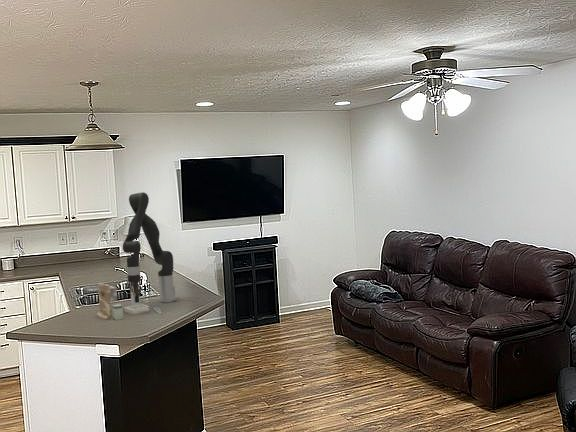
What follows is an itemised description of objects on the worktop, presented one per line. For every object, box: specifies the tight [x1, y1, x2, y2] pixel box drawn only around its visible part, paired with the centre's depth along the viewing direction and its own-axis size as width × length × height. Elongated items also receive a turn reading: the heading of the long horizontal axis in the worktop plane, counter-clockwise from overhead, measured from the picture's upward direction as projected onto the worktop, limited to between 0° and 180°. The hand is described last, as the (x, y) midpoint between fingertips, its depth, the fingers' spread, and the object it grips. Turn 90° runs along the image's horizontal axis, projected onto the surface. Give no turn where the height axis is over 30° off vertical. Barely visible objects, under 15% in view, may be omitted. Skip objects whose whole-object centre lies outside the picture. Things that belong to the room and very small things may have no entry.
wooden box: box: [96, 282, 118, 320], centre depth 363 cm, size 9×16×20 cm, turn 36°
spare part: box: [130, 292, 141, 306], centre depth 370 cm, size 4×4×8 cm
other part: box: [112, 303, 124, 321], centre depth 354 cm, size 4×4×8 cm
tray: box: [123, 303, 151, 316], centre depth 371 cm, size 12×12×3 cm
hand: (135, 301), depth 370 cm, fingers closed on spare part, 4 cm apart
